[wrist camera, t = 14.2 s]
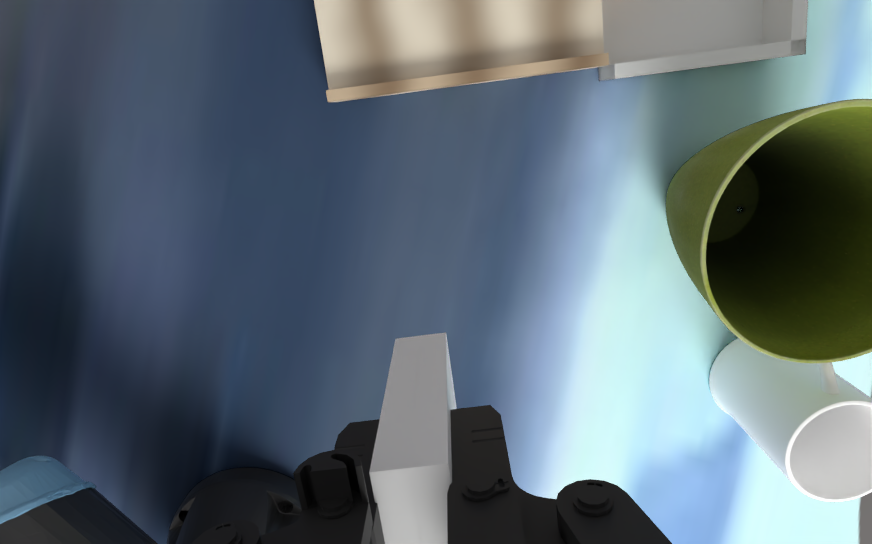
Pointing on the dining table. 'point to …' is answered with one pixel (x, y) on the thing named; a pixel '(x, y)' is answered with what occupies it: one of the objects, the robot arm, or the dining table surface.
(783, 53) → the tray
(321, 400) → the dining table surface
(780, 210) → the flower pot
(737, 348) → the mug
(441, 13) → the deck
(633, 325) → the dining table surface
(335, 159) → the dining table surface
